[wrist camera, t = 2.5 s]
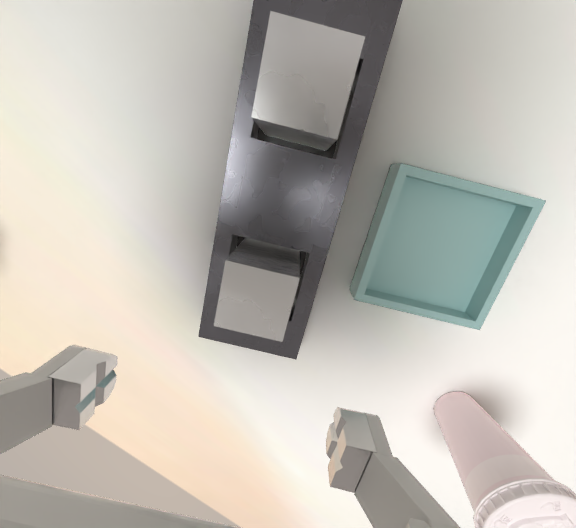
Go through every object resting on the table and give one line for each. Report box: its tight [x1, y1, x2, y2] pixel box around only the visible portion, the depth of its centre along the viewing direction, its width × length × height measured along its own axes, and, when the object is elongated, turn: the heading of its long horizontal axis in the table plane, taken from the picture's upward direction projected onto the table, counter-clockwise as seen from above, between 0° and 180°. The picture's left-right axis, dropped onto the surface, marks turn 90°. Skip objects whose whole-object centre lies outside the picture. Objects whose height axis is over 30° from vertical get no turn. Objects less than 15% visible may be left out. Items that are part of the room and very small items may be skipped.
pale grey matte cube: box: [214, 238, 300, 342], centre depth 20 cm, size 4×4×6 cm
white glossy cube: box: [251, 11, 365, 151], centre depth 16 cm, size 4×4×6 cm
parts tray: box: [350, 163, 546, 330], centre depth 21 cm, size 10×10×2 cm
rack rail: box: [198, 0, 402, 359], centre depth 20 cm, size 24×8×2 cm, turn 166°
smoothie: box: [434, 391, 576, 528], centre depth 20 cm, size 6×6×14 cm
